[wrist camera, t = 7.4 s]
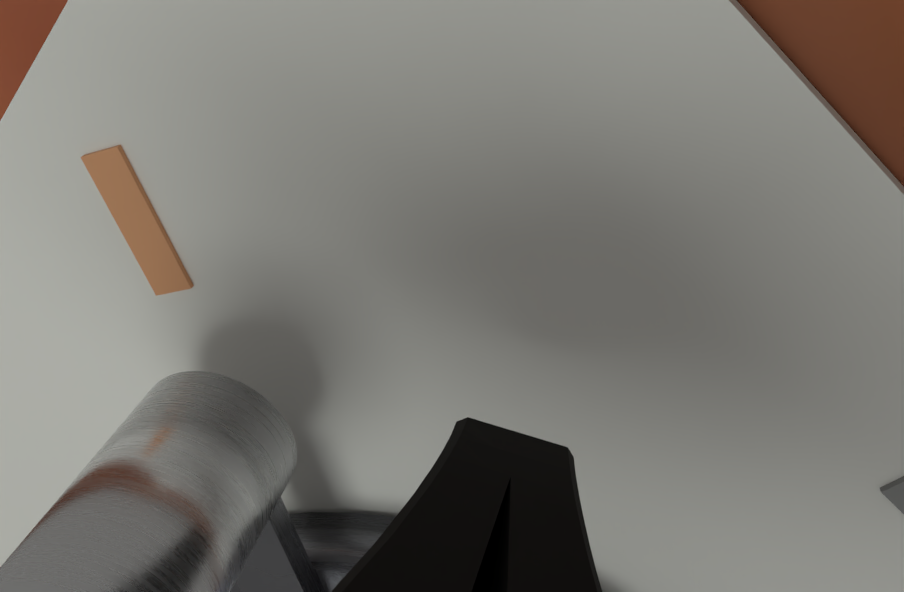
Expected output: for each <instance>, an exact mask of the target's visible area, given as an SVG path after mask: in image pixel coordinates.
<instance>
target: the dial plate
mask: <svg viewBox="0 0 904 592" xmlns="http://www.w3.org/2000/svg"><path fill="white" fill-rule="evenodd" d="M185 371H205V372H212V373H217V374H221V375H224V376H227V377H230V378H232V379H235V380H237V381H240V382H242V383H243V384H245V385H247V386H249V387H251V388H252V389H254V390H255V391H257V392H258V393H260V394H261V395H262V396H263V397H265V398H266V399H267V400H268V401H269V402H270V403H271V404H272V405H273V406H275V408H276V409H277V410H278V411H279V412H280V413H281V415H282V416H283V417H284V419H285V420H286V422H287V423H288V425H289V427H290V429H291V431H292V433H293V436H294V439H295V443H296V448H297V462H296V467H295V470H294V472H293V474H292V476H291V478H290V480H289V482H288V484H287V486H286V488H285V490H284V491H283V493H282V495H281V498H282V501H283V503H284V505H285V507H286V509H287V511H288V514H296V513H306V512H355V513H365V514H374V515H383V516H392V517H396V516H397V515H398V513H399V512H400V511H401V509H402V508H403V507H404V506H405V504H406V503H407V502H408V501H409V499H410V498H411V497H412V495H413V494H414V493H415V491H416V490H417V489H418V487H419V486H420V484H421V483H422V481H423V480H424V478H425V477H426V476H427V474H428V473H429V471H430V470H431V468H432V467H433V465H434V464H435V462H436V461H437V459H438V457H439V456H440V454H441V452H442V451H443V449H444V447H445V445H446V443H447V441H448V440H449V438H450V436H451V434H452V431H453V429H454V426H455V424H456V422H457V421H459V420H462V419H464V418H467V417H469V418H472V419H476V420H479V421H482V422H486V423H489V424H492V425H496V426H499V427H502V428H506V429H509V430H512V431H516V432H519V433H522V434H526V435H529V436H532V437H535V438H539V439H542V440H545V441H549V442H552V443H555V444H559V445H562V446H565V447H568V448H569V450H570V452H571V453H572V455H573V457H574V465H575V473H576V479H577V486H578V491H579V497H580V502H581V507H582V512H583V517H584V522H585V526H586V531H587V535H588V539H589V544H590V548H591V552H592V556H593V560H594V564H595V568H596V571H597V575H598V578H599V582H600V585H601V589H602V592H904V187H903V185H902V184H901V183H900V182H899V181H898V180H897V179H896V178H895V177H894V175H893V174H892V173H891V172H890V171H889V170H888V169H887V168H886V167H885V165H884V164H883V163H882V162H881V161H880V160H879V159H878V158H877V156H876V155H875V154H874V153H873V152H872V151H871V150H870V149H869V148H868V146H867V145H866V144H865V143H864V142H863V141H862V140H861V139H860V138H859V136H858V135H857V134H856V133H855V132H854V131H853V130H852V129H851V127H850V126H849V125H848V124H847V123H846V122H845V121H844V120H843V119H842V117H841V116H840V115H839V114H838V113H837V112H836V111H835V110H834V109H833V107H832V106H831V105H830V104H829V103H828V102H827V101H826V100H825V98H824V97H823V96H822V95H821V94H820V93H819V92H818V91H817V90H816V88H815V87H814V86H813V85H812V84H811V83H810V82H809V81H808V80H807V78H806V77H805V76H804V75H803V74H802V73H801V72H800V71H799V69H798V68H797V67H796V66H795V65H794V64H793V63H792V62H791V61H790V59H789V58H788V57H787V56H786V55H785V54H784V53H783V52H782V51H781V49H780V48H779V47H778V46H777V45H776V44H775V43H774V42H773V40H772V39H771V38H770V37H769V36H768V35H767V34H766V33H765V32H764V30H763V29H762V28H761V27H760V26H759V25H758V24H757V23H756V22H755V20H754V19H753V18H752V17H751V16H750V15H749V14H748V13H747V11H746V10H745V9H744V8H743V7H742V6H741V5H740V4H739V3H738V1H737V0H68V2H67V3H66V5H65V7H64V9H63V11H62V12H61V14H60V16H59V18H58V20H57V21H56V23H55V25H54V27H53V28H52V30H51V32H50V34H49V36H48V37H47V39H46V41H45V43H44V44H43V46H42V48H41V50H40V52H39V53H38V55H37V57H36V59H35V60H34V62H33V64H32V66H31V68H30V69H29V71H28V73H27V75H26V76H25V78H24V80H23V82H22V84H21V85H20V87H19V89H18V91H17V93H16V94H15V96H14V98H13V100H12V101H11V103H10V105H9V107H8V109H7V110H6V112H5V114H4V116H3V117H2V119H1V121H0V567H1V566H2V565H3V563H4V562H5V561H6V560H7V559H8V558H9V556H10V555H11V554H12V553H13V552H14V550H15V549H16V548H17V547H18V546H19V545H20V543H21V542H22V541H23V540H24V539H25V537H26V536H27V535H28V534H29V533H30V532H31V530H32V529H33V528H34V527H35V526H36V524H37V523H38V522H39V521H40V520H41V519H42V517H43V516H44V515H45V514H46V513H47V511H48V510H49V509H50V508H51V507H52V506H53V504H54V503H55V502H56V501H57V500H58V498H59V497H60V496H61V495H62V494H63V493H64V491H65V490H66V489H67V488H68V487H69V485H70V484H71V483H72V482H73V481H74V480H75V478H76V477H77V476H78V475H79V474H80V472H81V471H82V470H83V469H84V468H85V466H86V465H87V464H88V463H89V462H90V461H91V459H92V458H93V457H94V456H95V455H96V453H97V452H98V451H99V450H100V449H101V448H102V446H103V445H104V444H105V443H106V442H107V440H108V439H109V438H110V437H111V436H112V435H113V433H114V432H115V431H116V430H117V429H118V427H119V426H120V425H121V424H122V423H123V422H124V420H125V419H126V418H127V417H128V416H129V414H130V413H131V412H132V411H133V410H134V409H135V407H136V406H137V405H138V404H139V403H140V401H141V400H142V399H143V398H144V397H145V396H146V394H147V393H148V392H149V391H150V390H151V389H152V387H153V386H154V385H155V384H156V383H158V382H159V381H160V380H162V379H163V378H165V377H167V376H169V375H172V374H176V373H179V372H185Z"/></svg>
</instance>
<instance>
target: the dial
mask: <svg viewBox="0 0 904 592" xmlns="http://www.w3.org/2000/svg"><path fill="white" fill-rule="evenodd" d="M296 462H297V448H296V443H295V439H294V436H293V433H292V431H291V429H290V427H289V425H288V423H287V422H286V420H285V419H284V417H283V416H282V415H281V413H280V412H279V411H278V410H277V409H276V408H275V406H273V405H272V404H271V403H270V402H269V401H268V400H267V399H266V398H265V397H263V396H262V395H261V394H260V393H258V392H257V391H255V390H254V389H252V388H251V387H249V386H247V385H245V384H243V383H242V382H240V381H237V380H235V379H232V378H230V377H227V376H224V375H221V374H217V373H212V372H205V371H185V372H179V373H176V374H172V375H169V376H167V377H165V378H163V379H162V380H160V381H159V382H158V383H156V384H155V385H154V386H153V387H152V389H151V390H150V391H149V392H148V393H147V394H146V396H145V397H144V398H143V399H142V400H141V401H140V403H139V404H138V405H137V406H136V407H135V409H134V410H133V411H132V412H131V413H130V414H129V416H128V417H127V418H126V419H125V420H124V422H123V423H122V424H121V425H120V426H119V427H118V429H117V430H116V431H115V432H114V433H113V435H112V436H111V437H110V438H109V439H108V440H107V442H106V443H105V444H104V445H103V446H102V448H101V449H100V450H99V451H98V452H97V453H96V455H95V456H94V457H93V458H92V459H91V461H90V462H89V463H88V464H87V465H86V466H85V468H84V469H83V470H82V471H81V472H80V474H79V475H78V476H77V477H76V478H75V480H74V481H73V482H72V483H71V484H70V485H69V487H68V488H67V489H66V490H65V491H64V493H63V494H62V495H61V496H60V497H59V498H58V500H57V501H56V502H55V503H54V504H53V506H52V507H51V508H50V509H49V510H48V511H47V513H46V514H45V515H44V516H43V517H42V519H41V520H40V521H39V522H38V523H37V524H36V526H35V527H34V528H33V529H32V530H31V532H30V533H29V534H28V535H27V536H26V537H25V539H24V540H23V541H22V542H21V543H20V545H19V546H18V547H17V548H16V549H15V550H14V552H13V553H12V554H11V555H10V556H9V558H8V559H7V560H6V561H5V562H4V563H3V565H2V566H1V567H0V592H331V591H332V590H333V589H334V588H335V587H336V585H337V584H338V583H339V582H340V581H341V580H342V579H343V578H344V577H345V575H346V574H347V573H348V572H349V571H350V570H351V569H352V568H353V567H354V566H355V564H356V563H357V562H358V561H359V560H360V559H361V558H362V557H363V556H364V554H365V553H366V552H367V551H368V550H369V549H370V548H371V547H372V546H373V544H374V543H375V542H376V541H377V540H378V538H379V537H380V536H381V535H382V534H383V532H384V531H385V530H386V529H387V527H388V526H389V525H390V523H391V522H392V521H393V520H394V518H395V517H392V516H383V515H374V514H365V513H355V512H306V513H296V514H288V511H287V509H286V507H285V505H284V503H283V501H282V498H281V495H282V493H283V491H284V490H285V488H286V486H287V484H288V482H289V480H290V478H291V476H292V474H293V472H294V470H295V467H296Z"/></svg>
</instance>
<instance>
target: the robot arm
mask: <svg viewBox="0 0 904 592" xmlns="http://www.w3.org/2000/svg"><path fill="white" fill-rule="evenodd" d="M331 592H602V589H601V585H600V582H599V578H598V575H597V571H596V568H595V564H594V560H593V556H592V552H591V548H590V544H589V539H588V535H587V531H586V526H585V522H584V517H583V512H582V507H581V502H580V497H579V491H578V486H577V479H576V473H575V465H574V457H573V455H572V453H571V452H570V450H569V448H568V447H565V446H562V445H559V444H555V443H552V442H549V441H545V440H542V439H539V438H535V437H532V436H529V435H526V434H522V433H519V432H516V431H512V430H509V429H506V428H502V427H499V426H496V425H492V424H489V423H486V422H482V421H479V420H476V419H472V418H469V417H467V418H464V419H462V420H459V421H457V422H456V424H455V426H454V429H453V431H452V434H451V436H450V438H449V440H448V441H447V443H446V445H445V447H444V449H443V451H442V452H441V454H440V456H439V457H438V459H437V461H436V462H435V464H434V465H433V467H432V468H431V470H430V471H429V473H428V474H427V476H426V477H425V478H424V480H423V481H422V483H421V484H420V486H419V487H418V489H417V490H416V491H415V493H414V494H413V495H412V497H411V498H410V499H409V501H408V502H407V503H406V504H405V506H404V507H403V508H402V509H401V511H400V512H399V513H398V515H397V516H396V517H395V518H394V520H393V521H392V522H391V523H390V525H389V526H388V527H387V529H386V530H385V531H384V532H383V534H382V535H381V536H380V537H379V538H378V540H377V541H376V542H375V543H374V544H373V546H372V547H371V548H370V549H369V550H368V551H367V552H366V553H365V554H364V556H363V557H362V558H361V559H360V560H359V561H358V562H357V563H356V564H355V566H354V567H353V568H352V569H351V570H350V571H349V572H348V573H347V574H346V575H345V577H344V578H343V579H342V580H341V581H340V582H339V583H338V584H337V585H336V587H335V588H334V589H333V590H332V591H331Z"/></svg>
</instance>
